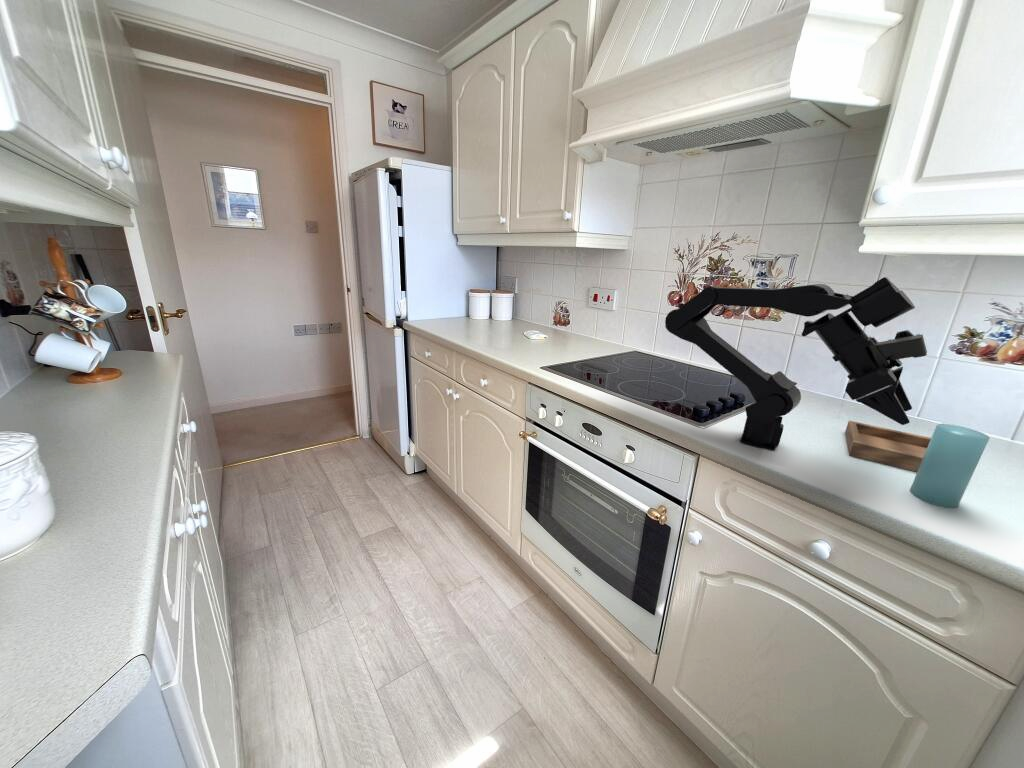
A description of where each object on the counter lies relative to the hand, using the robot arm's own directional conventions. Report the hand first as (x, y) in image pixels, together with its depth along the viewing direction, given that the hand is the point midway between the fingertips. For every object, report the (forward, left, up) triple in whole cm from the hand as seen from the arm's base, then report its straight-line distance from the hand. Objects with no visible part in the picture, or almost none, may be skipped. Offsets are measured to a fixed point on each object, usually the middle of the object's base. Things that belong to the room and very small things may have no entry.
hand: (907, 416), depth 70 cm
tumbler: (+7, -1, -13) cm, 14 cm away
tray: (+4, +16, -13) cm, 21 cm away
